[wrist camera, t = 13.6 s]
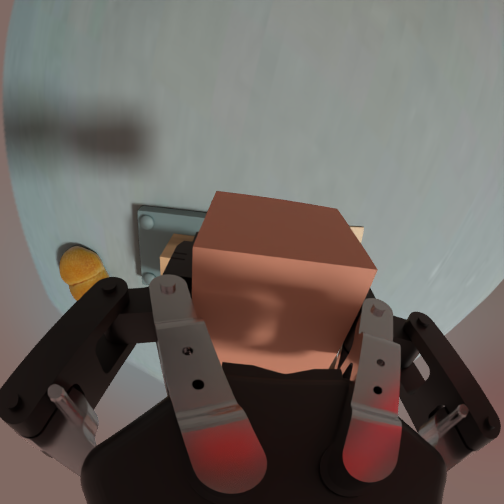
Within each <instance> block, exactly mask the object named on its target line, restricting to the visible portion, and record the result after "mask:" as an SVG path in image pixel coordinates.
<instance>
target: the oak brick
mask: <svg viewBox="0 0 504 504" xmlns="http://www.w3.org/2000/svg"><path fill="white" fill-rule="evenodd" d="M193 239H194V236H190V235H182V234H173V235H172V237H171V239H170V240H169V242H168V244H167V245H166V247H165V249H164V250H163V252H162V254H161V256H160V271H161V275H163V272H164V270H165V268H166V266H167V264H168V262H169V260H170V258H171V256H172V254H173V253H174V250H175V248H176V246H177V245H178V244H180V243H181V242H183V241H191V242H192V241H193Z"/></svg>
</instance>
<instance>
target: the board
mask: <svg viewBox="0 0 504 504" xmlns="http://www.w3.org/2000/svg"><path fill="white" fill-rule="evenodd" d="M206 214H207V213H204V212H196V211H187V210H179V209H170V208H160V207H151V206H142V207H141V208H140V209H139V210H138V233H139V249H140V262H141V273H142V283H143V284H145V285H149V284H150V282H151V281H152V280H153V279H154V278H156V277H158V276H160V275H161V271H160V256H161V254H162V252H163V250H164V249H165V247H166V245H167V244H168V242H169V240H170V239H171V237H172V235H173V234H182V235H190V236H195V234H196V232H199V230H200V228H201V226H202V223H203V221H204V219H205V216H206Z"/></svg>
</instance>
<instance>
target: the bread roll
mask: <svg viewBox="0 0 504 504" xmlns="http://www.w3.org/2000/svg"><path fill="white" fill-rule="evenodd" d="M60 275H61V278H62V279H63V281H64V282H65V283H67V284H68V285H69V289H70V292H71V294H72V296H73V297H74V299H75V300H77V301H78V300H79V299H80V298H81V297H82V296H83V295H84V294H85V293H86V292H87V291H88V290H89V289H90V288H91V287H92V286H93V285H94V284H95V283H96V282H97V281H99V280H101V279H103V278H107V277H109V275H108V273H107V271H106V269H105V268H104V265H103V263H102V261H101V259H100V257H99V256H98V255H97V254H96V253H95V252H93V251H91V250H88V249H85V248H83V247H80V246H74V247H71V248H69V249H68V250H67V251H66V252H65V253H64V254H63V256H62V258H61V260H60Z"/></svg>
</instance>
